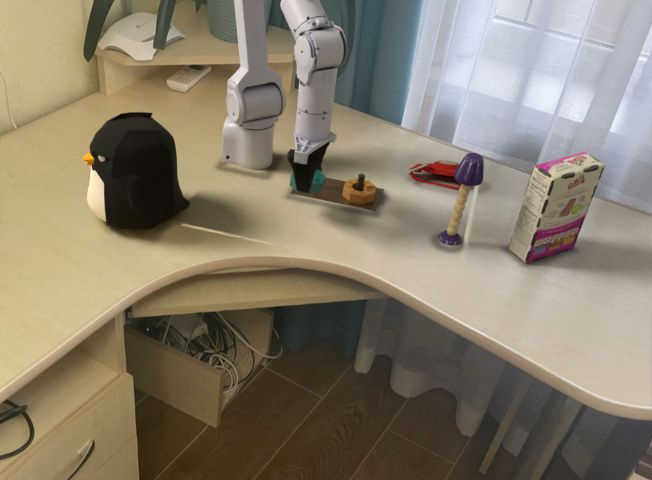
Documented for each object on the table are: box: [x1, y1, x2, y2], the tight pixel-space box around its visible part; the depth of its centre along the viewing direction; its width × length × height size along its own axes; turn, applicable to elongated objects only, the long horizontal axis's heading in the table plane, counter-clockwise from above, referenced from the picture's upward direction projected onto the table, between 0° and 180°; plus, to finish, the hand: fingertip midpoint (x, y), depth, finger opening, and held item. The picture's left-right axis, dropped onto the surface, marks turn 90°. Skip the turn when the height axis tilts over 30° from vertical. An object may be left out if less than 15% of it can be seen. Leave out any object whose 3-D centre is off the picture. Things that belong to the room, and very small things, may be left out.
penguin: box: [81, 111, 191, 232], centre depth 125 cm, size 18×18×17 cm
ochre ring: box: [343, 177, 378, 204], centre depth 137 cm, size 6×6×2 cm
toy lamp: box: [437, 152, 485, 246], centre depth 123 cm, size 5×5×17 cm
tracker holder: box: [407, 160, 461, 191], centre depth 143 cm, size 12×4×10 cm
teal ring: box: [289, 169, 327, 195], centre depth 128 cm, size 6×6×2 cm
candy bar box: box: [507, 151, 606, 264], centre depth 123 cm, size 11×5×16 cm, turn 117°
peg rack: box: [290, 165, 385, 212], centre depth 137 cm, size 16×8×5 cm, turn 73°
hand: (307, 181), depth 129 cm, fingers closed on teal ring, 6 cm apart
